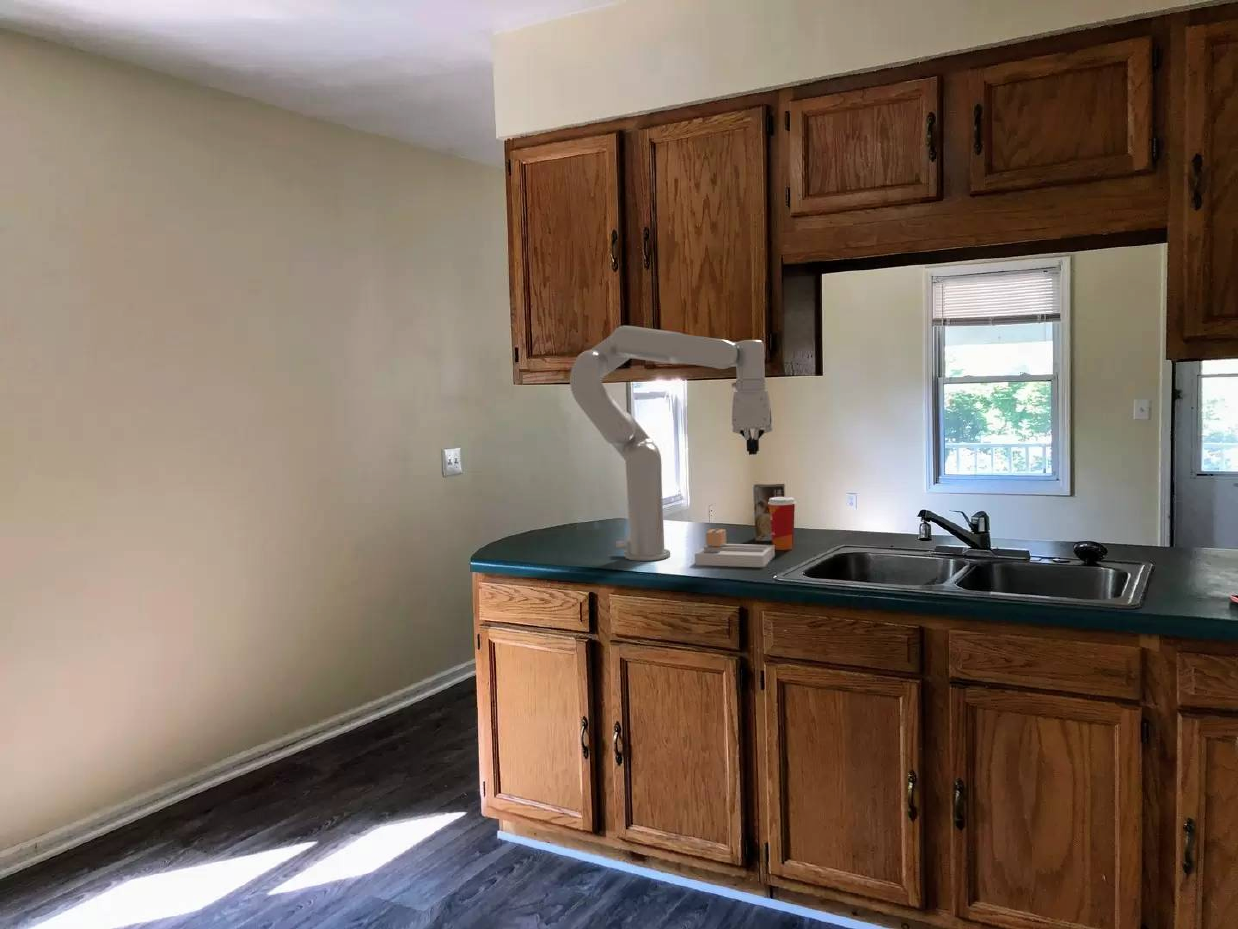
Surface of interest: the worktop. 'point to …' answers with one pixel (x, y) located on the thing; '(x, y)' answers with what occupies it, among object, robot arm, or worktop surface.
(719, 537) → the fader knob
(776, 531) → the paper cup
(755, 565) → the panel
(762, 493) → the coffee box
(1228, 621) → the worktop surface
